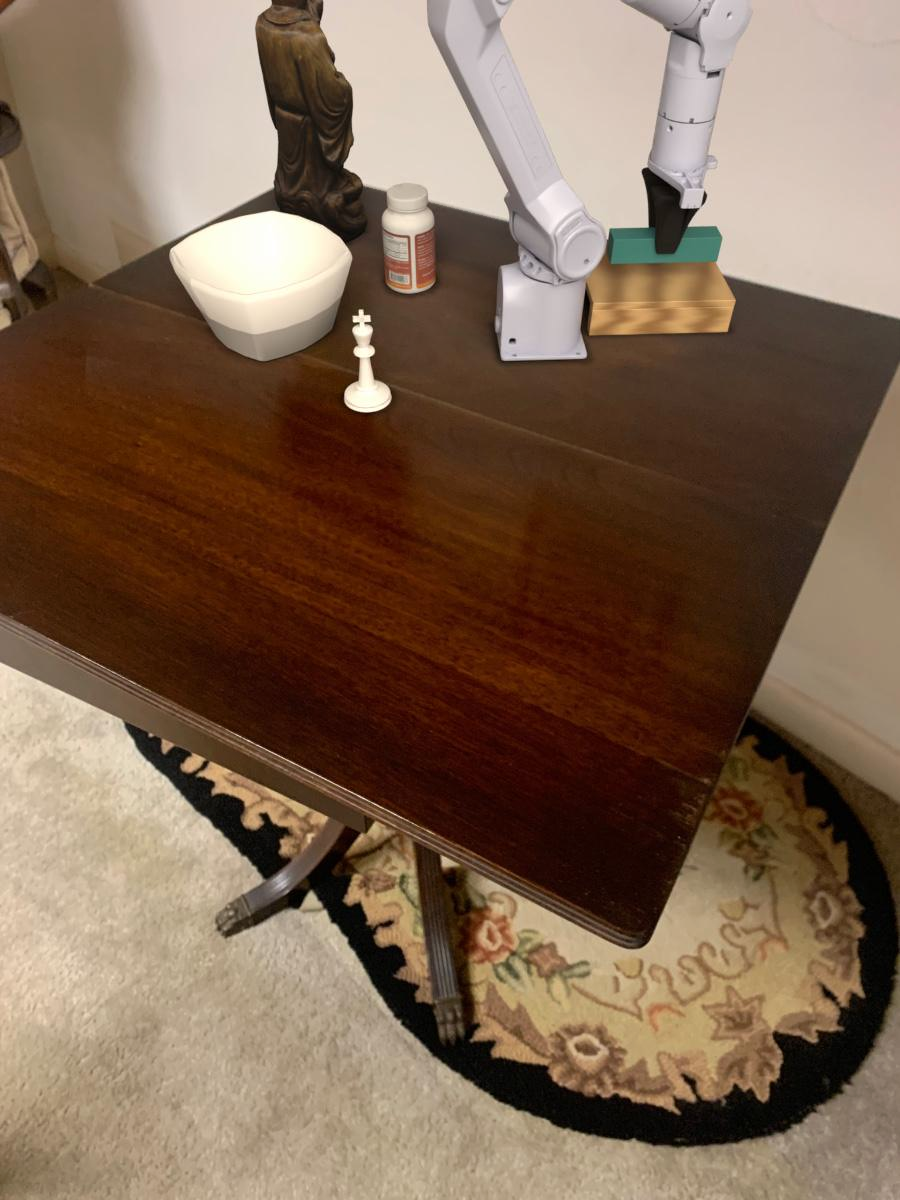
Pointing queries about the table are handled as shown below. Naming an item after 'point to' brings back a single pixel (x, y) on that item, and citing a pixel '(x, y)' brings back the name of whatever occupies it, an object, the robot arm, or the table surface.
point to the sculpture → (309, 118)
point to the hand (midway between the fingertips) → (662, 245)
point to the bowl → (265, 281)
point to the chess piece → (365, 373)
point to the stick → (641, 249)
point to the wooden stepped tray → (658, 298)
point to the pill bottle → (408, 239)
